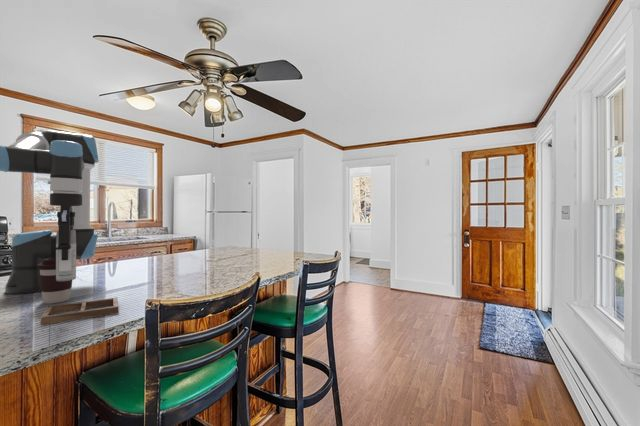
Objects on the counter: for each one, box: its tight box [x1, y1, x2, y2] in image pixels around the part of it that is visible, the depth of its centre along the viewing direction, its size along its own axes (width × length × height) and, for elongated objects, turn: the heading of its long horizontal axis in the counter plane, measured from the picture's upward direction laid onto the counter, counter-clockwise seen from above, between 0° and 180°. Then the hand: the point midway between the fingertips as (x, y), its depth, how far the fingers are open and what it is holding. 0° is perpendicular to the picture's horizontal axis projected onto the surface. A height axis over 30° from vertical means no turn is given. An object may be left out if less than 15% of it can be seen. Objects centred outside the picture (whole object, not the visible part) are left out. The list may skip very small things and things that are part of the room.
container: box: [56, 230, 77, 281], centre depth 92 cm, size 5×5×15 cm
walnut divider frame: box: [40, 296, 119, 326], centre depth 94 cm, size 12×18×2 cm, turn 125°
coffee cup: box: [37, 257, 73, 305], centre depth 105 cm, size 10×10×15 cm
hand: (66, 268), depth 92 cm, fingers closed on container, 5 cm apart
